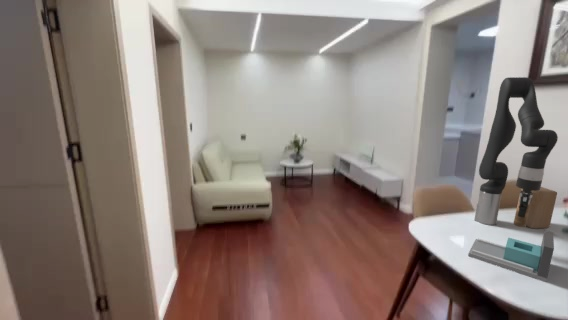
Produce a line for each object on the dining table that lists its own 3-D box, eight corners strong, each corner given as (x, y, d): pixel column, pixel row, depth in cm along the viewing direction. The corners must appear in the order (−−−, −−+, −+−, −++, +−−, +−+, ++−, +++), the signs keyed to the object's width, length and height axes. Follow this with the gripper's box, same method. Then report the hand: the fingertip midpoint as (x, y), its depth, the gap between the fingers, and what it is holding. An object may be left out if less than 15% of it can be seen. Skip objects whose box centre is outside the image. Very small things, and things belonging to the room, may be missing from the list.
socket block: (503, 260, 105) (505, 246, 104) (505, 250, 112) (508, 237, 110) (537, 270, 98) (540, 256, 97) (537, 259, 105) (540, 246, 103)
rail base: (468, 256, 111) (472, 227, 108) (475, 241, 122) (479, 215, 119) (546, 282, 94) (554, 248, 91) (546, 262, 105) (553, 232, 102)
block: (530, 229, 133) (538, 192, 128) (513, 220, 143) (520, 185, 138) (550, 228, 133) (558, 191, 128) (532, 220, 143) (539, 185, 138)
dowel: (512, 225, 113) (518, 197, 110) (513, 222, 116) (519, 194, 113) (525, 228, 111) (531, 199, 108) (525, 224, 113) (532, 197, 110)
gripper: (541, 183, 101) (532, 223, 105) (542, 175, 110) (534, 212, 115) (516, 179, 106) (508, 217, 110) (519, 172, 116) (511, 207, 120)
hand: (521, 214), depth 112 cm, fingers closed on dowel, 4 cm apart
